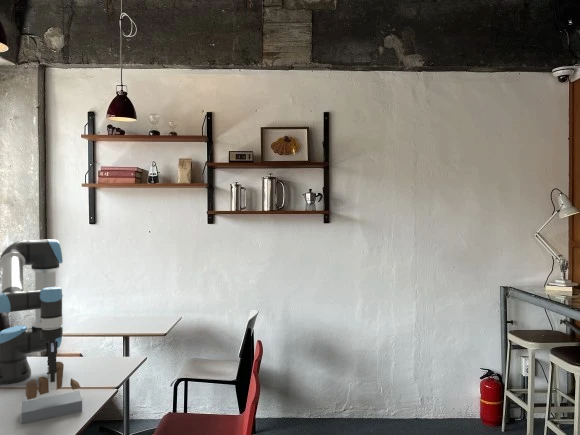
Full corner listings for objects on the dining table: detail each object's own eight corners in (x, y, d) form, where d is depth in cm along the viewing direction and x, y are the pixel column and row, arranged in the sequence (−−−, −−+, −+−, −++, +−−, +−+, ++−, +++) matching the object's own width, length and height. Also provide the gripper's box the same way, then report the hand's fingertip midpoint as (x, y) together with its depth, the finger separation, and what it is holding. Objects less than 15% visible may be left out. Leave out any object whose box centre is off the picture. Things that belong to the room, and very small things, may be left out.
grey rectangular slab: (22, 412, 169) (22, 401, 169) (79, 400, 179) (79, 390, 179) (21, 423, 159) (21, 412, 159) (82, 410, 170) (82, 400, 170)
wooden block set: (28, 407, 160) (29, 384, 156) (22, 391, 165) (23, 369, 162) (80, 391, 172) (82, 370, 169) (73, 377, 178) (75, 356, 174)
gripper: (39, 323, 176) (40, 379, 176) (40, 335, 158) (41, 397, 158) (60, 320, 180) (61, 375, 180) (64, 332, 162) (64, 393, 162)
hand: (52, 386), depth 169 cm, fingers closed on wooden block set, 8 cm apart
